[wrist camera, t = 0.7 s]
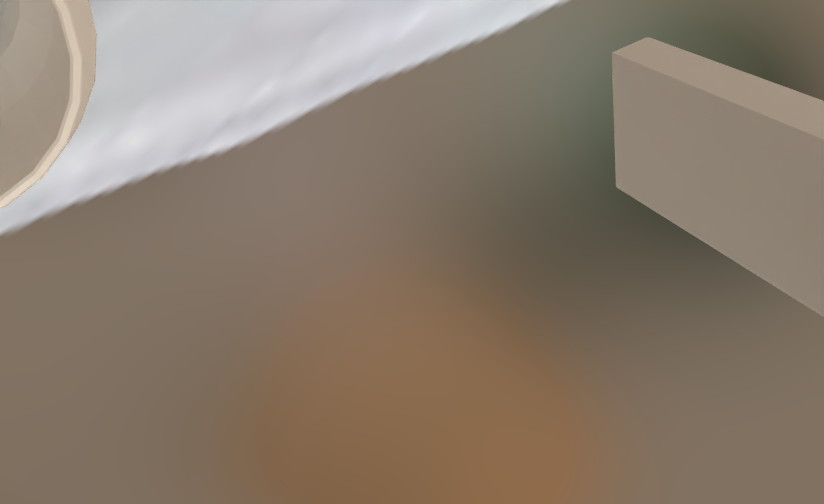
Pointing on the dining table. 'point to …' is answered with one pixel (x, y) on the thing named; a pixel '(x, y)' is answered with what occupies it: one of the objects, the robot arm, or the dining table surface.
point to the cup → (41, 85)
